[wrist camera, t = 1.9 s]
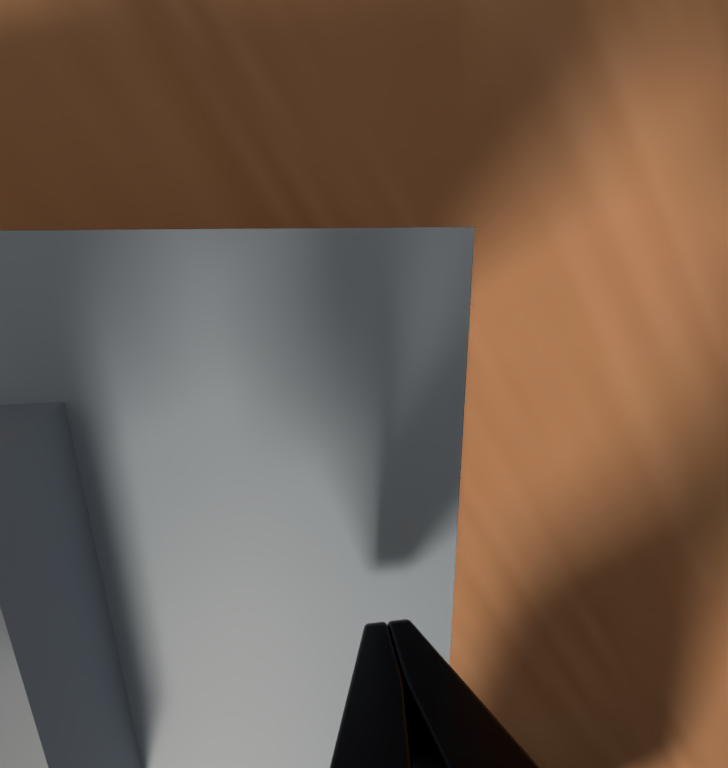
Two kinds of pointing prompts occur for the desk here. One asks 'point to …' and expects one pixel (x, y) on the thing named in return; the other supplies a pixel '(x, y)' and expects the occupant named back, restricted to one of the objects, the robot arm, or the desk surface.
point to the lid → (220, 483)
